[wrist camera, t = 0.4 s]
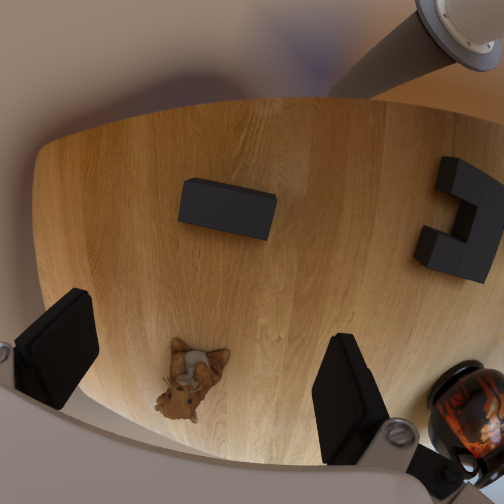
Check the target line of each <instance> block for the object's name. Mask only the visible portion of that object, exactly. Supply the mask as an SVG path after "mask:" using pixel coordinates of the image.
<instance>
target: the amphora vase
mask: <svg viewBox="0 0 504 504" xmlns="http://www.w3.org/2000/svg"><path fill="white" fill-rule="evenodd" d="M427 407H428V409H429V410H430V411H431V414H430V417H429V421H428V435H429V438H430V441H431V443H432V445H433V446H434V448H435V449H436V451H437V452H439V454H440V455H442V456H444V457H446V458H448V459H450V460H452V461H454V462H456V463H457V464H459V466H460V467H461V468H462V470H463V473H464V480H469V479H471V478H473V477H475V476H476V475H477V473H478V476H479V479H478V480H477V482H476V483H475V484H474V486H475V487H476V488H477V489H478V490H479V489H481V488H484V487H486V486H487V485H489V484H491V483H492V482H494V481H496V480H497V479H498V478H500V477H501V476H503V475H504V374H503V373H501V372H500V371H498V370H495V369H485V368H484V366H483V364H482V363H481V362H479V361H476V360H471V361H466V362H464V363H462V364H459V365H458V366H456V367H455V368H453V369H451V370H450V371H449V372H448V373H446V374H445V375H444V376H443V377H442V378H441V379H440V380H439V381H438V382H437V383H436V385H435V386H434V387H433V389H432V390H431V392H430V394H429V396H428V400H427ZM463 465H466V466H471V467H473V468H474V469H473V472H468V471H467V470H465V468H464V467H463Z"/></svg>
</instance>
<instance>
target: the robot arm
mask: <svg viewBox="0 0 504 504" xmlns="http://www.w3.org/2000/svg"><path fill="white" fill-rule="evenodd" d="M435 8H436V11H437V14H438V16H439V18H440V20H441V22H442V24H443V25H444V27H445V28H446V30H447V31H448V32H449V33H450V35H451V36H452V37H453V38H454V39H455V40H456V41H457V42H458V43H459V44H460V45H462V46H463V47H464V48H466V49H467V50H469V51H471V52H473V53H476V54H486V53H488V52H490V51H491V50H492V48H493V45H494V41H495V40H498V39H501V38H504V0H435ZM15 345H16V347H14V348H13V347H12V346H11V345H10V344H8V343H7V342H0V504H494V503H493V502H492V501H491V500H490V499H489V498H487V497H486V496H485V495H484V494H483V493H482V492H481V491H479V490H478V489H477V488H476V487H475V486H474V485H473V484H471V483H470V482H469V481H468V482H467V483H465V482H463V481H464V473H463V470H462V468H461V467H460V466H459V464H457V463H456V462H454V461H452V460H450V459H448V458H446V457H444V456H442V455H440V454H438V453H436V452H434V451H433V450H431V449H429V448H427V447H425V446H423V445H421V444H419V438H420V436H419V432H418V430H417V428H416V427H415V426H414V425H413V424H412V423H411V422H410V421H408V420H406V419H403V418H396V417H395V418H390V417H389V414H388V412H387V409H386V406H385V404H384V402H383V399H382V397H381V394H380V392H379V389H378V387H377V384H376V382H375V380H374V377H373V375H372V373H371V371H370V369H368V368H367V365H366V363H365V361H364V358H363V356H362V354H361V352H360V349H359V347H358V345H357V342H356V340H355V338H354V336H353V334H346V333H337V334H336V336H332V337H331V339H330V342H329V344H328V347H327V350H326V353H325V356H324V358H323V361H322V364H321V366H320V369H319V371H318V374H317V377H316V379H315V382H314V384H313V387H312V399H313V405H314V411H315V417H316V423H317V430H318V436H319V443H320V449H321V456H322V462H323V463H324V464H326V463H327V465H325V466H299V465H275V464H260V463H249V462H239V461H231V460H223V459H217V458H210V457H205V456H198V455H194V454H188V453H184V452H179V451H174V450H170V449H166V448H162V447H158V446H154V445H150V444H147V443H143V442H140V441H136V440H133V439H130V438H127V437H123V436H120V435H117V434H115V433H111V432H109V431H106V430H103V429H100V428H98V427H95V426H92V425H90V424H87V423H85V422H82V421H80V420H78V419H75V418H73V417H71V416H68V415H66V414H64V413H62V412H59V411H58V410H61V409H62V408H63V406H64V405H65V403H66V402H67V400H68V399H69V397H70V396H71V394H72V393H73V391H74V390H75V388H76V387H77V385H78V384H79V382H80V381H81V379H82V378H83V377H84V375H85V374H86V372H87V371H88V369H89V368H90V366H91V365H92V364H93V362H94V361H95V359H96V358H97V356H98V354H99V343H98V338H97V332H96V326H95V320H94V313H93V306H92V298H91V296H90V295H89V294H88V292H87V291H86V290H82V289H78V288H73V289H72V290H70V291H69V292H68V293H67V294H66V295H64V296H63V297H62V298H61V299H60V300H59V301H57V302H56V303H55V304H54V305H53V306H52V307H50V308H49V309H48V310H47V311H46V312H45V313H44V314H43V315H41V316H40V317H39V318H38V319H37V320H36V321H35V322H34V323H33V324H31V325H30V326H29V327H28V328H27V329H26V330H25V331H24V332H23V333H22V334H21V335H20V336H19V337H17V338H16V340H15Z"/></svg>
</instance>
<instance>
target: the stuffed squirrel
mask: <svg viewBox="0 0 504 504" xmlns="http://www.w3.org/2000/svg"><path fill="white" fill-rule="evenodd" d="M171 354H172V357H171V366H170V379H171V382H172V383H171V382H170V380H169V378H168V377H167V379H168V381H169V383H167V382H166V380H165V379H164V377H163V380H164V381H165V382H166V383H167V384H168V385H169V388H168V389H167V392H165V393H164V394H161V396H159V397H158V398H157V401H156V402H157V403H158V405H156V406H155V410H156V411H159V410H161V411H160V412H161V414H162V413H163V416H164V417H166V418H169V419H174V420H175V419H178V420H179V418H180V419H181V418H182V419H190V420H191V421H192V422H193V423H195V424H196V423H198V418H197V413H196V411H195V409H196V408H197V407H198V406H199V405H200V402H201V401H202V400H204V398H205V395H206V394H207V392H208V391H209V390H210V388H211V387H213V386H214V385H216V384H217V383H218V382H219V381H220V379H221V378H222V370H223V368H224V367H225V365H226V364H227V362H228V360H229V357H230V351H229V350H227V349H222V350H218V351H215V352H211V353H208V354H206V353H205V352H202V351H199V350H193V351H192V350H191V349H190V348H189V347H188V346H187V345H186V344H184V343H183V342H182V341H181V340H179V339H178V338H173V339H172V340H171ZM198 404H199V405H198Z"/></svg>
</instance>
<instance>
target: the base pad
mask: <svg viewBox="0 0 504 504" xmlns="http://www.w3.org/2000/svg"><path fill="white" fill-rule="evenodd" d="M435 189H437V190H439V191H442V192H444V193H446V194H448V195H451V196H453V197H455V198H457V199H459V200H461V204H460V208H459V211H458V215H457V218H456V221H455V224H454V227H453V231H452V234H451V235H449V234H447V233H444V232H441V231H439V230H436V229H433V228H430V227H427V226H425V225H424V226H423V229H422V232H421V235H420V238H419V241H418V244H417V247H416V250H415V252H414V255H413V257H414V258H415V259H416V260H418V261H419V262H420V263H421V264H422V265H424V266H425V267H426V268H428V269H432V270H436V271H439V272H443V273H447V274H450V275H454V276H457V277H461V278H464V279H468V280H471V281H475V282H478V283H482V284H484V282H485V280H486V278H487V275H488V273H489V270H490V268H491V265H492V262H493V260H494V257H495V254H496V252H497V249H498V246H499V243H500V240H501V237H502V234H503V230H504V185H503V184H501V183H500V182H498V181H496V180H495V179H493V178H492V177H490V176H489V175H487V174H485V173H484V172H482V171H481V170H479V169H477V168H476V167H474V166H472V165H470V164H469V163H467V162H465V161H463V160H462V159H460V158H453V157H444V156H442V160H441V164H440V169H439V173H438V177H437V181H436V185H435Z"/></svg>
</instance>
